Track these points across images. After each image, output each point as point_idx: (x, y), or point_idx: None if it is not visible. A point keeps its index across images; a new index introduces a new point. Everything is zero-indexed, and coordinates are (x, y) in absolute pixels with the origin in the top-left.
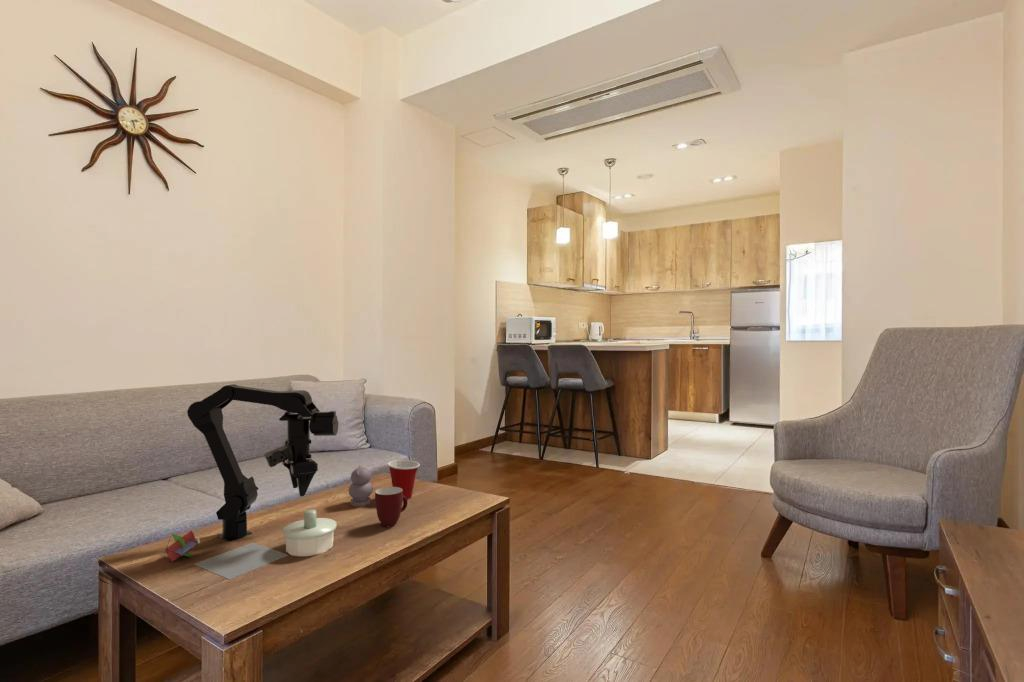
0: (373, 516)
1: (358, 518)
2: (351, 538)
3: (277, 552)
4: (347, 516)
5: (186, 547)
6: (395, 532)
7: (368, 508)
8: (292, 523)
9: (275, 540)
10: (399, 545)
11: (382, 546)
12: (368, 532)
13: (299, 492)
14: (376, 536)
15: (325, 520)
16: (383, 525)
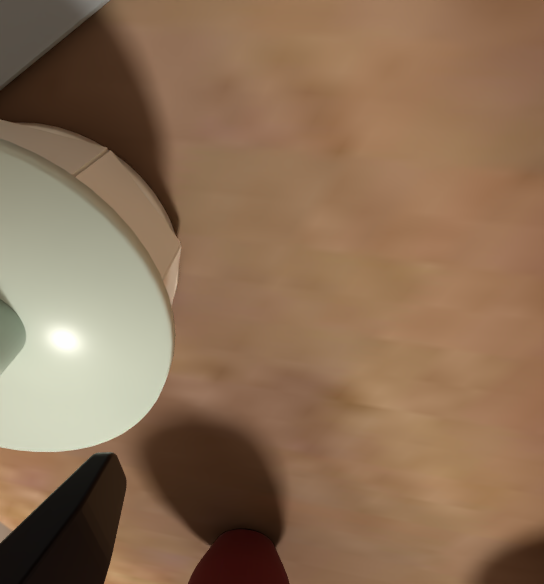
0: (383, 532)
1: (398, 490)
2: (143, 420)
3: (7, 58)
4: (465, 465)
5: None
6: (148, 538)
7: (512, 543)
8: (88, 224)
9: (296, 59)
10: (13, 516)
11: (16, 480)
12: (189, 480)
13: (64, 492)
14: (130, 489)
15: (90, 415)
16: (227, 533)
